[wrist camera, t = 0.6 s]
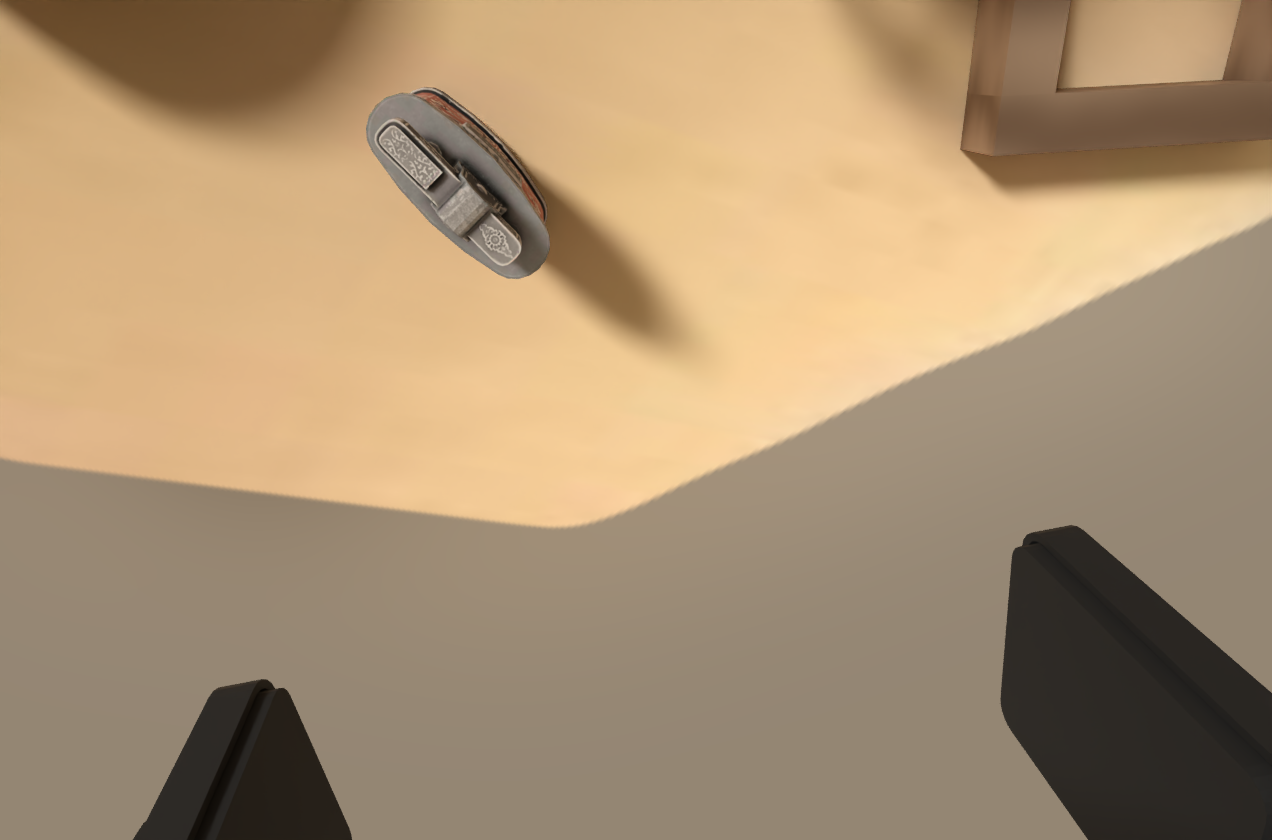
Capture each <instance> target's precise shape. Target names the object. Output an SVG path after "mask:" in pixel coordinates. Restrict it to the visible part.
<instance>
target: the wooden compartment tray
mask: <svg viewBox="0 0 1272 840" xmlns="http://www.w3.org/2000/svg"><path fill="white" fill-rule="evenodd" d="M1070 3H1071V0H979V4H978V12H977V20H976V28H975V36H974V44H973V52H972V60H971V68H970V76H969V85H968V93H967V101H966V109H965V117H964V125H963V133H962V141H961V150H966V151H971V152H976V153H980V154H985V155H990V156H1004V155H1020V154H1037V153H1053V152H1070V151H1086V150H1103V149H1119V148H1136V147H1152V146H1169V145H1185V144H1202V143H1218V142H1235V141H1251V140H1267V139H1272V0H1242V4H1241V8H1240V12H1239V16H1238V20H1237V24H1236V28H1235V32H1234V36H1233V40H1232V44H1231V48H1230V52H1229V56H1228V60H1227V64H1226V68H1225V73H1224V77H1223V80H1215V81H1197V82H1178V83H1159V84H1140V85H1121V86H1103V87H1084V88H1065V89H1056V87H1057V81H1058V75H1059V69H1060V63H1061V57H1062V51H1063V45H1064V39H1065V33H1066V27H1067V21H1068V15H1069V9H1070Z"/></svg>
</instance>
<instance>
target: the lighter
mask: <svg viewBox="0 0 1272 840" xmlns="http://www.w3.org/2000/svg"><path fill="white" fill-rule="evenodd" d="M366 133H367V141H368V144H369V146H370V148H371V150H372V152H373V153H374V155H375V156H376V157H377V159H378V160H379V161H380V163H381V164H382V166H383V167H384V168H385V170H386V171H387V172H388V174H389V175H390V177H391V178H392V179H393V181H394V182H395V183H396V185H397V186H398V188H399V189H400V190H401V191H402V192H403V193H404V194H405V195H406V197H407V198H408V199H409V200H410V201H411V202H412V203H413V204H414V205H415V206H416V208H417V209H418V210H419V211H420V212H421V213H422V214H423V215H424V216H425V217H426V219H427V220H428V221H429V222H430V223H431V224H432V225H433V226H435V227H436V228H437V229H438V230H439V231H441V232H442V233H443V234H444V235H445V236H446V237H448V238H449V239H450V240H451V241H452V242H453V243H455V244H456V245H457V246H458V247H459V248H461V249H462V250H463V251H464V252H466V253H467V254H468V255H470V256H471V257H473V258H474V259H476V260H477V261H479V262H480V263H482V264H483V265H485V266H486V267H488V268H489V269H491V270H492V271H494V272H495V273H497V274H498V275H501V276H503V277H505V278H508V279H520V278H523V277H526V276H529V275H531V274H532V273H534V272H535V271H537V270H538V269H539V268H540V267H541V265H542V264H543V263H544V262H545V260H546V258H547V255H548V252H549V249H550V243H549V233H548V230H547V228H546V225H545V223H546V220H547V205H546V202H545V200H544V198H543V196H542V194H541V193H540V191H539V190H538V188H537V187H536V185H535V184H534V182H533V181H532V179H531V177H530V176H529V174H528V173H527V171H526V170H525V168H524V167H523V166H522V165H521V163H520V162H519V161H518V160H517V159H516V157H515V156H514V155H513V154H512V153H511V151H510V150H509V149H508V148H507V146H506V145H505V144H504V143H503V142H502V140H501V139H500V138H498V137H497V136H496V135H495V134H494V133H493V132H492V131H491V130H490V129H489V128H488V127H487V126H486V125H485V124H483V123H482V122H481V121H480V120H479V119H478V118H477V117H476V116H475V115H474V114H473V113H471V112H470V111H469V110H467V109H466V108H465V107H463V106H462V105H460V104H459V103H458V102H456V101H455V100H454V99H452V98H451V97H450V96H448V95H447V94H446V93H444V92H443V91H441V90H439V89H436V88H431V87H423V88H420V89H417V90H414V91H412V92H410V93H399V94H396V95H393V96H389V97H386V98H385V99H384V100H382V101H381V102H380V103H378V104H377V105H376V106H375V108H374V109H373V111H372V112H371V114H370V115H369V118H368V122H367V126H366Z"/></svg>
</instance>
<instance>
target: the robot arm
mask: <svg viewBox="0 0 1272 840" xmlns="http://www.w3.org/2000/svg"><path fill="white" fill-rule="evenodd" d="M1001 707H1002V712H1003V715H1004V718H1005V720H1006V722H1007V725H1008V726H1009V728H1010V729H1011V731H1012V733H1013V734H1014V735H1015V737H1016V738H1017V740H1018V741H1019V742H1020V744H1021V745H1022V747H1023V748H1024V750H1026V752H1027V754H1028V755H1029V757H1030V758H1031V759H1032V761H1033V762H1034V764H1035V765H1036V767H1037V768H1038V769H1039V771H1040V772H1041V774H1042V775H1043V776H1044V778H1045V779H1046V781H1047V782H1048V784H1049V785H1050V786H1051V788H1052V789H1053V791H1054V792H1055V793H1056V795H1057V796H1058V798H1059V799H1060V800H1061V802H1062V803H1063V805H1064V806H1065V808H1066V809H1067V810H1068V812H1069V813H1070V815H1071V816H1072V817H1073V819H1074V820H1075V822H1076V823H1077V825H1078V826H1079V827H1080V829H1081V830H1082V832H1083V833H1084V835H1085V836H1086V837H1087V839H1088V840H1272V693H1271V692H1270V691H1269V690H1267V689H1266V688H1265V687H1264V686H1263V685H1261V683H1259V682H1258V681H1257V680H1256V679H1255V678H1253V676H1251V675H1250V674H1249V673H1248V672H1247V671H1245V670H1244V669H1243V668H1242V667H1241V666H1240V665H1239V664H1237V663H1236V662H1235V661H1234V660H1233V659H1232V658H1231V657H1229V656H1228V655H1227V654H1226V653H1225V652H1223V651H1222V650H1221V649H1220V648H1219V647H1218V646H1217V645H1216V644H1214V643H1213V642H1212V641H1211V640H1210V639H1209V638H1207V637H1206V636H1205V635H1204V634H1203V633H1202V632H1200V631H1199V630H1198V629H1197V628H1196V627H1194V626H1193V625H1192V624H1191V623H1190V622H1189V621H1188V620H1186V619H1185V618H1184V617H1183V616H1182V615H1181V614H1180V613H1178V612H1177V611H1176V610H1175V609H1174V608H1173V607H1171V606H1170V605H1169V604H1168V603H1167V602H1166V601H1165V600H1163V599H1162V598H1161V597H1160V596H1159V595H1158V594H1157V593H1155V592H1154V591H1153V590H1152V589H1151V588H1150V587H1148V586H1147V585H1146V584H1145V583H1144V582H1143V581H1142V580H1140V579H1139V578H1138V577H1137V576H1136V575H1135V574H1133V573H1132V572H1131V571H1130V570H1129V569H1128V568H1126V567H1125V566H1124V565H1123V564H1122V563H1121V562H1120V561H1118V560H1117V559H1116V558H1115V557H1114V556H1113V555H1111V554H1110V553H1109V552H1108V551H1107V550H1106V549H1104V548H1103V547H1102V546H1101V545H1100V544H1099V543H1098V542H1096V541H1095V540H1094V539H1093V538H1092V537H1091V536H1089V535H1088V534H1087V533H1086V532H1085V531H1084V530H1082V529H1081V528H1079V527H1077V526H1072V525H1070V526H1065V527H1059V528H1054V529H1049V530H1043V531H1039V532H1033V533H1030V534H1028V535H1026V537H1025V538H1024V540H1023V545H1022V546H1021V547H1018V548H1015V550H1014V551H1013V555H1012V564H1011V576H1010V588H1009V600H1008V614H1007V625H1006V638H1005V650H1004V663H1003V675H1002V687H1001ZM133 840H352V837H351V833H350V830H349V827H348V825H347V822H346V820H345V818H344V816H343V813H342V811H341V809H340V807H339V804H338V802H337V800H336V798H335V795H334V793H333V791H332V789H331V787H330V784H329V782H328V780H327V778H326V775H325V773H324V771H323V769H322V766H321V764H320V762H319V759H318V757H317V755H316V753H315V750H314V748H313V746H312V743H311V741H310V739H309V737H308V734H307V732H306V730H305V728H304V725H303V723H302V721H301V719H300V716H299V714H298V712H297V710H296V707H295V706H294V703H293V701H292V699H291V696H290V695H289V693H288V691H287V690H286V689H284V688H278V689H275V688H274V686H273V685H272V683H271V682H269V681H268V680H264V679H261V680H256V681H251V682H246V683H240V684H235V685H230V686H225V687H220V688H217V689H216V690H214V691H213V692H212V694H211V695H210V697H209V698H208V700H207V702H206V704H205V706H204V708H203V710H202V712H201V714H200V716H199V718H198V720H197V722H196V724H195V726H194V728H193V730H192V732H191V734H190V736H189V738H188V740H187V742H186V744H185V746H184V748H183V750H182V751H181V753H180V755H179V757H178V760H177V761H176V763H175V766H174V767H173V769H172V771H171V773H170V775H169V777H168V779H167V781H166V783H165V785H164V787H163V789H162V791H161V793H160V795H159V797H158V799H157V801H156V803H155V805H154V807H153V809H152V811H151V813H150V815H149V817H148V819H147V821H146V822H145V823H143V825H142V826H141V828H140V829H139V831H138V832H137V834H136V835H135V837H134V839H133Z"/></svg>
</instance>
